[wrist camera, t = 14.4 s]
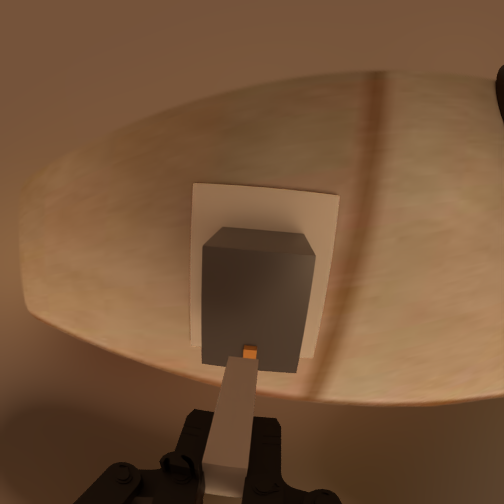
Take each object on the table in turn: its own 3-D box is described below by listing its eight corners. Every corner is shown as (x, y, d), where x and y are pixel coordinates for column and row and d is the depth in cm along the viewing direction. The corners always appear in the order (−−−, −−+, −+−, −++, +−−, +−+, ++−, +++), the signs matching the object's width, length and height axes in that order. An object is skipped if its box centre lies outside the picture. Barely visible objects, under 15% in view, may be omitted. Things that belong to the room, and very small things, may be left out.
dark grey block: (222, 226, 27) (200, 247, 19) (303, 233, 27) (317, 258, 18) (218, 319, 30) (200, 367, 21) (291, 326, 29) (296, 377, 21)
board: (196, 182, 27) (171, 184, 21) (337, 195, 27) (357, 200, 20) (193, 340, 32) (175, 377, 25) (311, 352, 31) (319, 392, 24)
